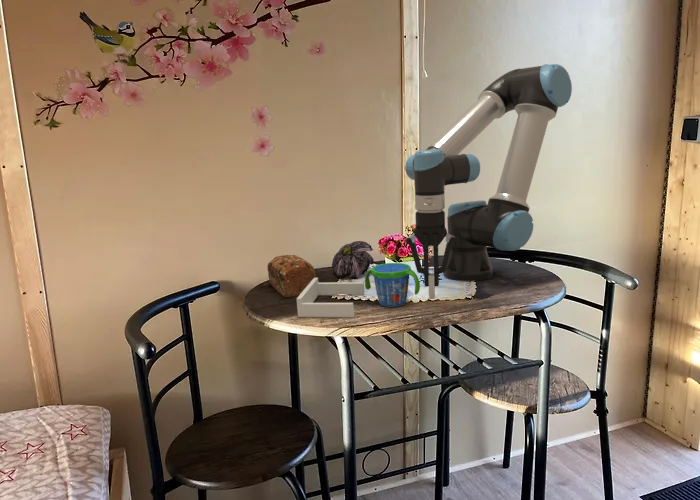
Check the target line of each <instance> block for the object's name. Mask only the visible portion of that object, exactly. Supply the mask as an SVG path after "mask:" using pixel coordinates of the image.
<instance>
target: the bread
mask: <svg viewBox="0 0 700 500" xmlns="http://www.w3.org/2000/svg"><path fill="white" fill-rule="evenodd" d="M314 269H315V268H314V266H313V265H312V263H310V262H308V261H307V260H305V259H304V258H302V257H300V256H298V255H296V254H286V255H279V256H275V257H274V258H273V259H271V260H270V261H269V262H268V263H267V272H268V274H267V275H268V280H269V283H270V285H271V286H272V288H274V289H275V290H276V291H277V292H278V293H279V294H280V296H282V297H285V298H294V297H298V296H299V295H300V294H301V293H302V292H303V290H304V289H305V288H306V287H307V286H308V284H309V283H310V282H311V281H312V280H313V278H316V272H315V270H314Z"/></svg>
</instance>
